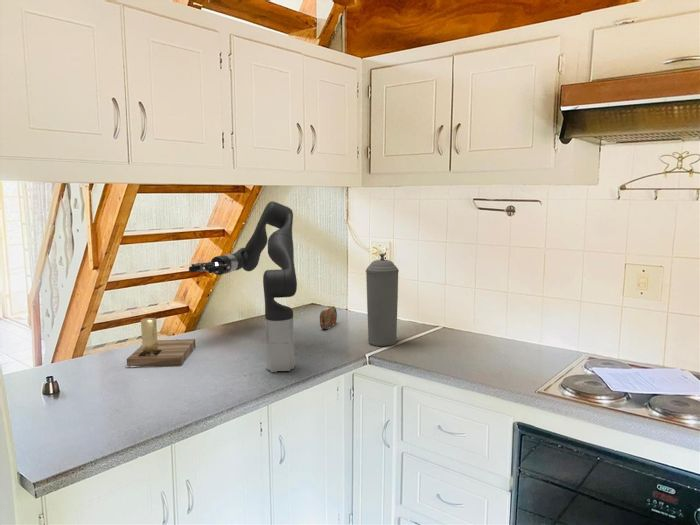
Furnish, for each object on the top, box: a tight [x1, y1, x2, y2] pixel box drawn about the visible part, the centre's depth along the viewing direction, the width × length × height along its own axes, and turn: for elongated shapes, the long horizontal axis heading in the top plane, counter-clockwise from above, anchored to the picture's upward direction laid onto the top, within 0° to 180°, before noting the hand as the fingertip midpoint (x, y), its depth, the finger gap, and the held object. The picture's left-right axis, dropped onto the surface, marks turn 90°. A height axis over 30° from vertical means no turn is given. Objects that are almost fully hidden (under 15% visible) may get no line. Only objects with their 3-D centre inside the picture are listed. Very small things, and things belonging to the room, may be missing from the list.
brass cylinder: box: [140, 317, 158, 356], centre depth 178 cm, size 5×5×15 cm
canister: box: [365, 253, 400, 347], centre depth 196 cm, size 13×13×35 cm
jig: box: [126, 338, 197, 367], centre depth 183 cm, size 22×18×3 cm
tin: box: [319, 306, 338, 330], centre depth 222 cm, size 15×3×8 cm, turn 161°
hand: (199, 270), depth 190 cm, fingers open, 8 cm apart
